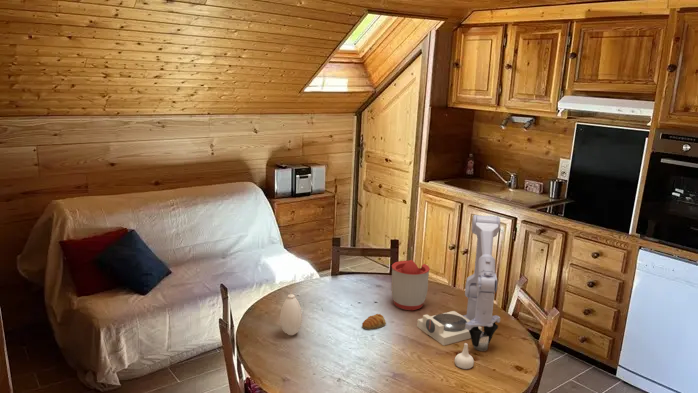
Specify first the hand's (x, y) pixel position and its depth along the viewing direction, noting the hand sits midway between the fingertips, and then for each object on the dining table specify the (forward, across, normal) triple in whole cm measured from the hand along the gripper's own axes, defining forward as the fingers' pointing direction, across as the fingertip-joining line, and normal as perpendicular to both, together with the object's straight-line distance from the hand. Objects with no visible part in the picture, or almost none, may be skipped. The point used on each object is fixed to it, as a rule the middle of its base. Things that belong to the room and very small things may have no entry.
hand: (480, 343), depth 186 cm
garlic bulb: (+2, -13, -6) cm, 14 cm away
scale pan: (-1, -2, +15) cm, 15 cm away
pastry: (+2, -26, +31) cm, 40 cm away
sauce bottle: (+2, -57, +38) cm, 69 cm away
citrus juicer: (+2, -2, +41) cm, 41 cm away
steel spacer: (+1, 0, 0) cm, 1 cm away
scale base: (+2, -2, +15) cm, 15 cm away
